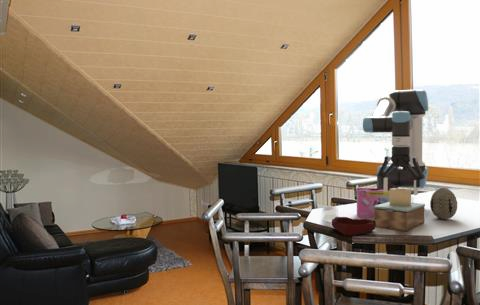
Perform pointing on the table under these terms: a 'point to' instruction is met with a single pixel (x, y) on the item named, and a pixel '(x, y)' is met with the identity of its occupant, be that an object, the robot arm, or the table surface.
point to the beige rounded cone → (400, 197)
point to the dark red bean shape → (353, 225)
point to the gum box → (370, 200)
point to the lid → (398, 207)
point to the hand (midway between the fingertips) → (400, 193)
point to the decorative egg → (443, 203)
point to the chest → (399, 219)
